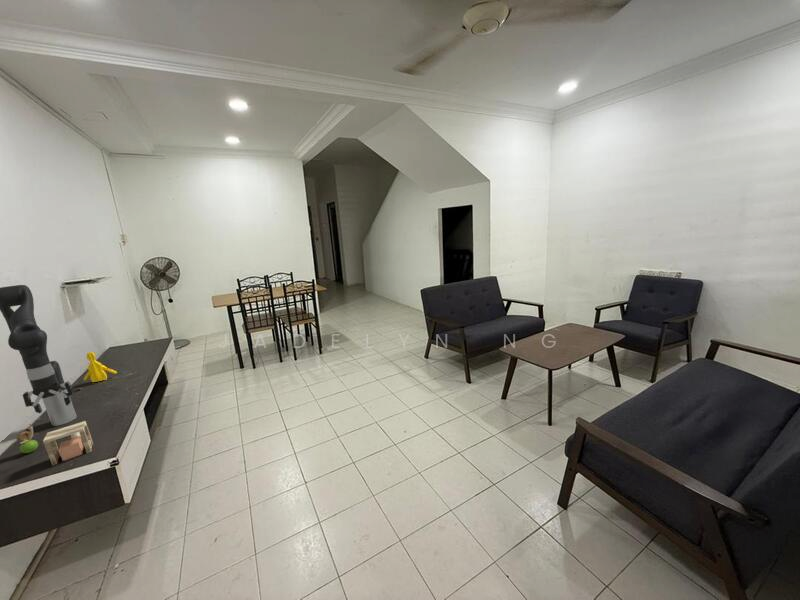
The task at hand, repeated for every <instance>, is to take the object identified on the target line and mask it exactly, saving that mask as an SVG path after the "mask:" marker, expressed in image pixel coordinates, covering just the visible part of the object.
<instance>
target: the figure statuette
mask: <svg viewBox="0 0 800 600" xmlns="http://www.w3.org/2000/svg"><path fill="white" fill-rule="evenodd" d="M96 357H97V355H96V354H95V353H94V351H88V352H87V353H86V359H87V360H88V361H89V362H90V363H89V365H88V366H87V369H88V372H87V373H86V374H85V375H84V378H83V381H86V380H87V379H89V377H90V381H91V382H92V383H93V382H97V381H102V380H106V381H107V380H108V379H107V378H108V375H107V372H109V373H111V374H114V375H116V374H117V373H118V371H116V370H114V369H112V368H108V367H107V366H105V365H103V364H102V363H101V362H99V361H98V360H96Z"/></svg>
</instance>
